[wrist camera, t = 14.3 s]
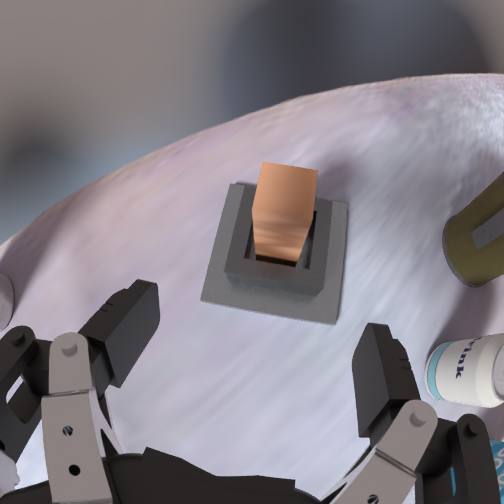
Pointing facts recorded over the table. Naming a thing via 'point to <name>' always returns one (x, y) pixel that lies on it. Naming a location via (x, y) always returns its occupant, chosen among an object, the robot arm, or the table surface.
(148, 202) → the table surface
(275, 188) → the terracotta peg
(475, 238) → the canister
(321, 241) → the socket plate
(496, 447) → the data package
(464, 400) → the beverage can
